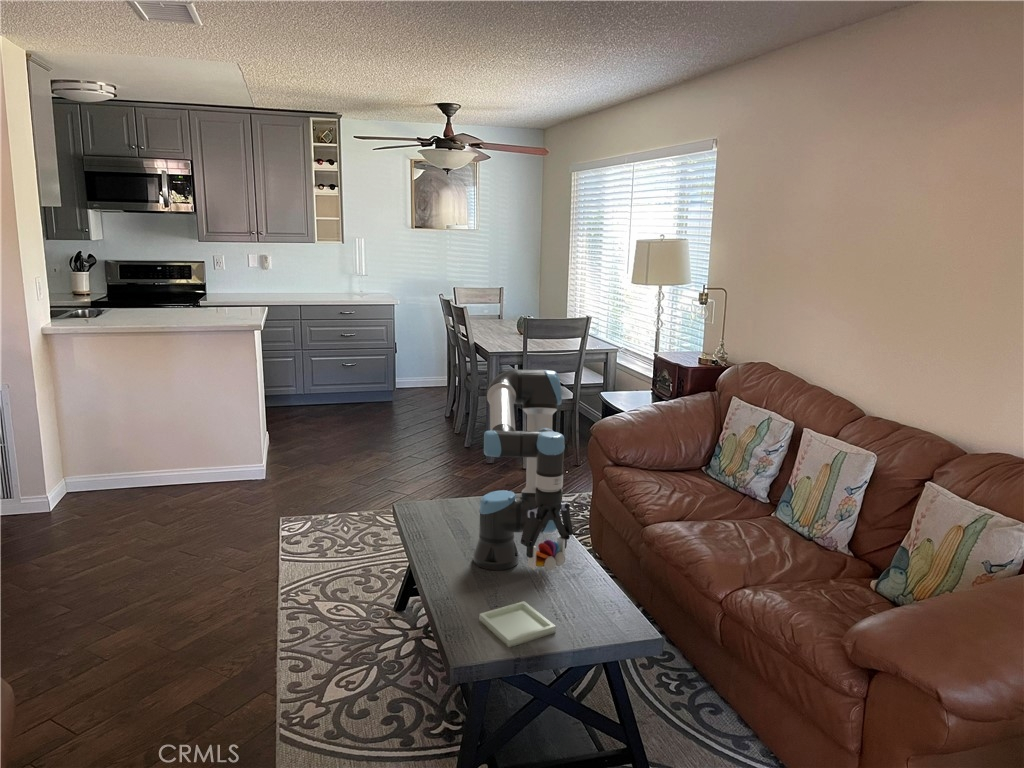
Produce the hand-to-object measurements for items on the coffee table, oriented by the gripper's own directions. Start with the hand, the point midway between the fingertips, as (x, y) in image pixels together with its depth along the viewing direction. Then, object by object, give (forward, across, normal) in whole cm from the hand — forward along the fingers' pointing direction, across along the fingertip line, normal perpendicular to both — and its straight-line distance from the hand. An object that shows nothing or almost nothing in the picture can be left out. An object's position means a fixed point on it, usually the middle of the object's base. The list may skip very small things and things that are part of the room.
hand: (546, 563), depth 205 cm
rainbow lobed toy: (+1, 0, 0) cm, 1 cm away
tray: (+16, -10, -1) cm, 19 cm away
